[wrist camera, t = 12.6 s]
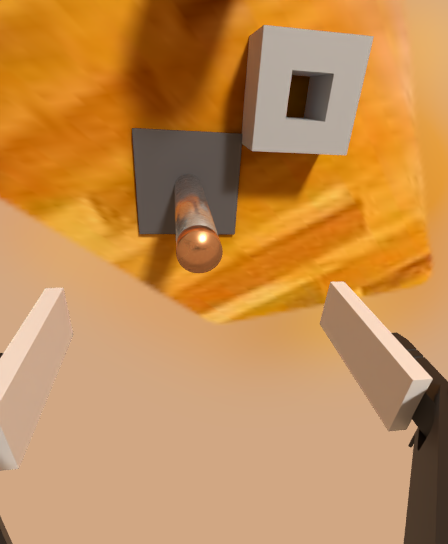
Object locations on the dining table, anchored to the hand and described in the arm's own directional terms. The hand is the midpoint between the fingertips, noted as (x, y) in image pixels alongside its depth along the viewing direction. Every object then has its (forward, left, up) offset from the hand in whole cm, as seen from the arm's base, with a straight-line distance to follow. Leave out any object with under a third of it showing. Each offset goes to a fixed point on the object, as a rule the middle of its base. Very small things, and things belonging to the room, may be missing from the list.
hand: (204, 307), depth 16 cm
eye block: (+11, +10, -26) cm, 30 cm away
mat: (0, 0, -26) cm, 26 cm away
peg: (0, 0, -25) cm, 25 cm away
